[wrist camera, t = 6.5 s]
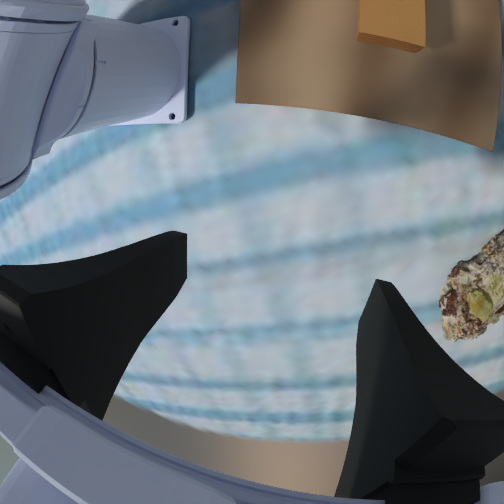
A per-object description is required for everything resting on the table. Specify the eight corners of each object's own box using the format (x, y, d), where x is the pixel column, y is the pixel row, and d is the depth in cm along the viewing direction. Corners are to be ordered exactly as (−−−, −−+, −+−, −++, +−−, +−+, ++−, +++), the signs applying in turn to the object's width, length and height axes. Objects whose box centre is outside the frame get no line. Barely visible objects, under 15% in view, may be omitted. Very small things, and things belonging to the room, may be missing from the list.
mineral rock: (484, 357, 20) (434, 353, 18) (464, 325, 23) (413, 313, 22) (555, 261, 14) (522, 230, 13) (526, 234, 18) (485, 200, 16)
